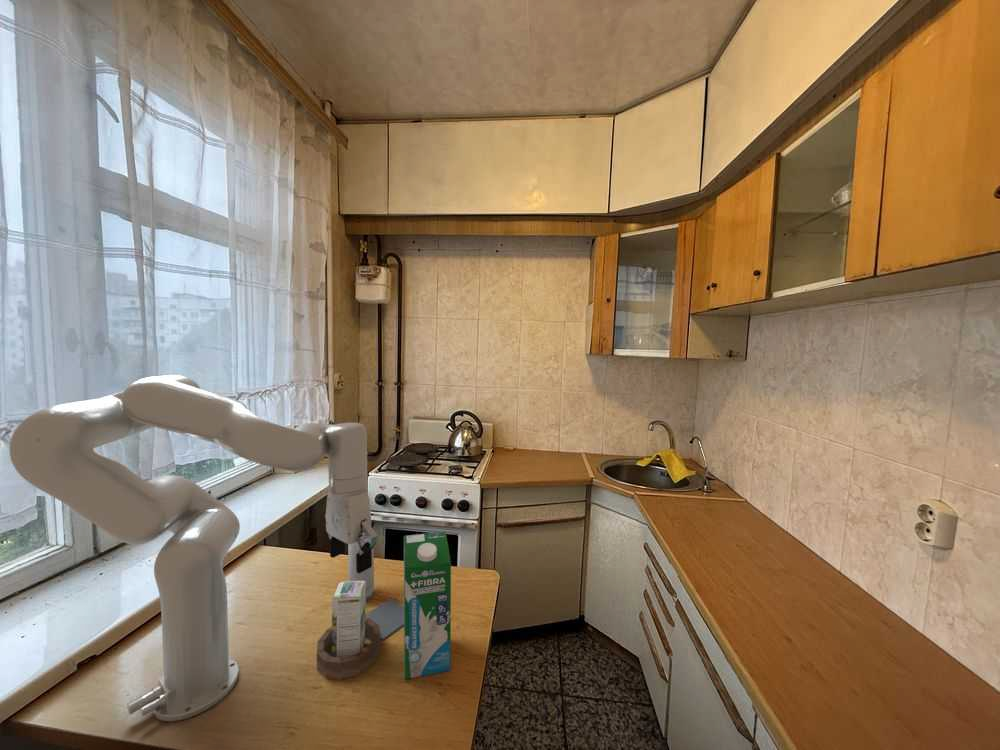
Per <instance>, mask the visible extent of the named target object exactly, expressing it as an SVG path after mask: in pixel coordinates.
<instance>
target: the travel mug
mask: <svg viewBox="0 0 1000 750" xmlns="http://www.w3.org/2000/svg"><path fill="white" fill-rule="evenodd" d="M375 523H376V522H375V521H374V520H373V519H371V527H372V528H373V529H374V525H375ZM361 536H363V535H361V534H360V535H359V537H361ZM359 537H358V538H359ZM360 543H361V545H362V546H363V545H364V544H365V543H366V542H365V540H362V541H360ZM347 547H348V548H347V551H348V553H347V554H348V558H347V559H348V565H347V566H348V581H366V602H368V601H369V600H370V599H371V598H373V596H374V593H375V566H374V565H375V562H374V561H375V560H374V559H375V558H374V557H375V555H374V552H375V551H374V548H375V546H374V547H373V549H372V566H371V568H369V569H367V570H365V571H363V572H361V573H357V571H356V554H357V553H358V551H357V548H356V546H355V544H354V543H353V544H351V545H349V544H347Z"/></svg>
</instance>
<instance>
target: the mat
mask: <svg viewBox="0 0 1000 750" xmlns="http://www.w3.org/2000/svg"><path fill="white" fill-rule="evenodd" d="M365 618H369V619H371V620H373V621H374V622H376V623H377V624H378V625H379V628H380V634H381V642H383V641H384V640H386V639H387V638H388V637H390V636H391V635H393V634H394V633H396V632H397V631H398V630H400V629H401V628H402V627H404V605H402V604H400V602H397V601H396V600H395V599H393V598H389V599H387V600H386V601H384V602H382V603H381V604H380V605H378V606H377V607H375V608H373V609H372V610H370V611H369V612H367V613H365Z"/></svg>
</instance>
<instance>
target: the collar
mask: <svg viewBox="0 0 1000 750" xmlns="http://www.w3.org/2000/svg"><path fill="white" fill-rule="evenodd" d="M365 638H367V639H369V641H371V642H370V643H369V645H367V646H364V648H363V649H362V650H361V651H360V652H359V653H358V654H354V655H351V656H347V657H344V658H341V657H332V655H330V654H329V653H328V652H329V650H330V649H332V626H331V627H329V628H327V629H326V630H325V631H324V633H323V634H322V635H321V636H320V638H319V639H318V640H317V642H316V643H317V644H316V670H317V671H318V672H319V673H320V674H321V675H322V676H323V677H324V678H325V679H330V680H339V681H340V680H341V681H342V680H346V679H349V678H353V677H356V676H359V675H361V674H362V673H364V672H365V671H366V670H367V669H369V668H370V667H371V666H372V665H374V664H375V662H376V660H377V659H378V657H379V654H380V653H381V651H382V640H381V634H380V628H379V625H378V624H377V623H376V622H374V621H373V620H371V619H369V618H365Z"/></svg>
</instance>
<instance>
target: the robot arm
mask: <svg viewBox="0 0 1000 750" xmlns="http://www.w3.org/2000/svg"><path fill="white" fill-rule="evenodd" d="M153 428H157V429H161V430H165V431H169V432H172V433H177V434H180V435H185V436H188V437H190V438H196V439H199V440H203V441H206V442H211V443H213V444H216V445H219V446H220V447H222V448H223V449H225V450H227V451H229V452H231V453H233V454H235V455H237V456H239V457H241V458H242V459H245V460H248V461H250V462H252V463H255V464H260V465H262V466H267V467H270V468H273V469H279V470H282V471H286V472H297V473H300V472H306V471H309V470H311V469H313V468H315V467H316V466H317V465H318V464H319V463H320V462H321V460H322V458H324V457H327V462H328V463H327V464H328V465H327V466H328V491H327V497H326V509H325V515H324V517H325V531H326V533H327V535H328V536H327V537H328V538H329V556H330V558H332V559H333V558H335V557H338V556H340V555H341V554H344V553H345V552H346V544H347V545H348V544H349V545H351V544H353V543H354V544H355V546H356V548H357V551H358V553H357V554H356V571H357V573H361V572H363V571H365V570H367V569H369V568H371V566H372V549H373V547H374V548H375V545H376V542H377V538H378V533H377V532H376V531H375V530H374V527H373V528H372V527H371V520H372V513H371V503H370V497H369V491H368V487H369V484H368V483H369V481H368V480H369V479H368V478H369V477H368V439H367V438H368V436H367V435H368V433H367V427H366V426H365V425H364V424H362V423H361V422H342V423H336V424H330V423H317V422H316V423H315V422H311V423H310V422H308V423H302V424H300V425H298V426H297V427H295V428H291V427H286V426H283V425H280V424H276V423H274V422H271V421H268V420H265V419H263V418H261V417H259V416H257V415H256V414H254V413H253V412H252V411H251V410H250V409H249V408H248V407H247V405H246V404H244V403H243V402H242V401H240V400H238V399H235V398H232V397H228V396H226V395H225V396H224V395H222V394H219V393H216V392H211V391H209V390H205V389H203V388H201V387H200V385H199V384H198V383H197V382H196V381H195V380H193V379H191V378H189V377H186V376H184V375H179V374H166V375H165V374H164V375H157V376H148V377H144V378H140V379H139V380H136V381H134V382H132V383H131V384H129V385H128V386H127V387H125V389H124V390H122V391H119V392H116V393H113V394H109V395H106V396H102V397H97V398H92V399H85V400H79V401H72V402H67V403H62V404H57V405H52V406H49V407H46V408H44V409H41V410H38V411H36V412H34V413H32V414H31V415H29V416H28V417H26V418H25V419H23V420H22V421H21V422H20V423H19V424H18V426H17V427H16V429H15V430H14V431H13V433H12V436H11V439H10V442H9V457H10V461H11V463H12V465H13V467H14V469H15V470H16V472H17V473H18V474H19V475H20V476H21V477H22V478H23V479H24V480H25V481H27V482H28V483H30V484H31V485H32V486H34V487H35V488H37V489H39V490H41V491H42V492H44V493H45V494H47V495H50V496H51V497H53V498H54V499H56V500H58V501H59V502H61V503H63V504H65V505H67V506H68V507H69V508H71V509H72V510H73V511H75V512H76V513H77V514H78V515H81V516H82V517H84V518H85V519H86V520H88V521H89V522H91V523H92V524H94V525H95V526H97V527H99V528H100V529H101V530H102V531H104V532H106V533H107V534H109V535H110V536H112V537H113V538H114V539H116V540H117V541H120V542H122V543H125V544H127V545H130V546H138V545H139V546H140V545H145V544H147V543H151V542H152V541H154V540H156V539H157V538H159V537H161V536H162V535H163V534H164V533H166V532H167V531H169V532H171V533H172V534H173V535H172V536H171V537H170V538H169V539H168V540H167V541H166V542H165V543H164V544H163V546H162V547H161V549H160V550H159V552H158V553H157V556H156V558H155V560H154V566H153V573H154V574H153V575H154V580H155V583H156V588H157V590H158V594H159V600H160V602H159V603H160V614H161V616H160V617H161V633H162V635H161V637H162V663H163V668H162V669H163V675H161V676H160V677H158V684H157V685H154V686H153V687H152V688H151V691H149V692H146V693H145V694H143V695H139V696H138V697H136V698H134V699H133V700H130V701H128V702H127V712H128V716H130V715H133V714H134V713H136V712H138V711H140V713H141V717H145V716H146V715H147V714H149V713H151V712H153V714H154V716H155V718H157V719H158V720H160V721H163V722H177V721H183V720H185V719H189V718H193V717H194V716H197V715H199V714H201V713H203V712H206V710H209V709H210V708H212V707H213V706H215V705H216V704H218V703H219V702H220V701H222V699H224V698H225V697H226V696H227V695H228V694H229V693H230V691H232V690H233V688H234V686H235V685H236V684H237V681H238V679H239V675H240V667H239V664H238V662H236V661H235V660H233V659H232V658H230V656H229V655H230V654H229V652H230V651H229V650H230V649H229V648H230V647H229V617H228V616H229V615H228V612H229V609H228V608H229V607H228V588H227V587H228V586H227V582H226V577H225V573H224V568H223V562H224V558H225V557H226V555H227V554H228V552H229V550H230V549H231V547H232V546H233V545H234V543H235V542H236V541H237V539H238V536H239V533H240V528H241V525H240V524H241V523H240V521H239V518H238V516H237V515H236V514H235V512H233V510H232V509H230V508H229V507H228V506H226V504H224V503H223V502H221V501H220V500H218V499H217V498H216V497H215V496H214V495H212V494H211V493H209V492H208V491H206V490H205V489H204V488H203V487H202V486H200V485H199V484H197V483H196V482H194V481H192V480H191V479H189V478H186V477H184V476H180V475H175V474H166V475H160V476H157V477H154V478H151V479H149V480H145V479H143V478H142V477H140V476H139V475H137V474H136V473H134V472H133V471H131V470H130V469H129V468H128V467H127V466H125V464H121V463H120V462H117V461H116V460H114V459H111V458H108V457H105V456H102V455H100V454H98V453H97V452H96V451H95V450H94V449H95V448H98V447H101V446H105V445H107V444H110V443H113V442H116V441H119V440H122V439H125V438H126V437H130V436H134V435H135V434H138V433H141V432H144V431H146V430H149V429H153ZM360 534H361V535H363V536H361V537H359V535H360ZM358 537H359V538H358ZM362 540H365V542H366V543H365V544H364V545H363V546H362V545H361V543H360V541H362Z"/></svg>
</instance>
